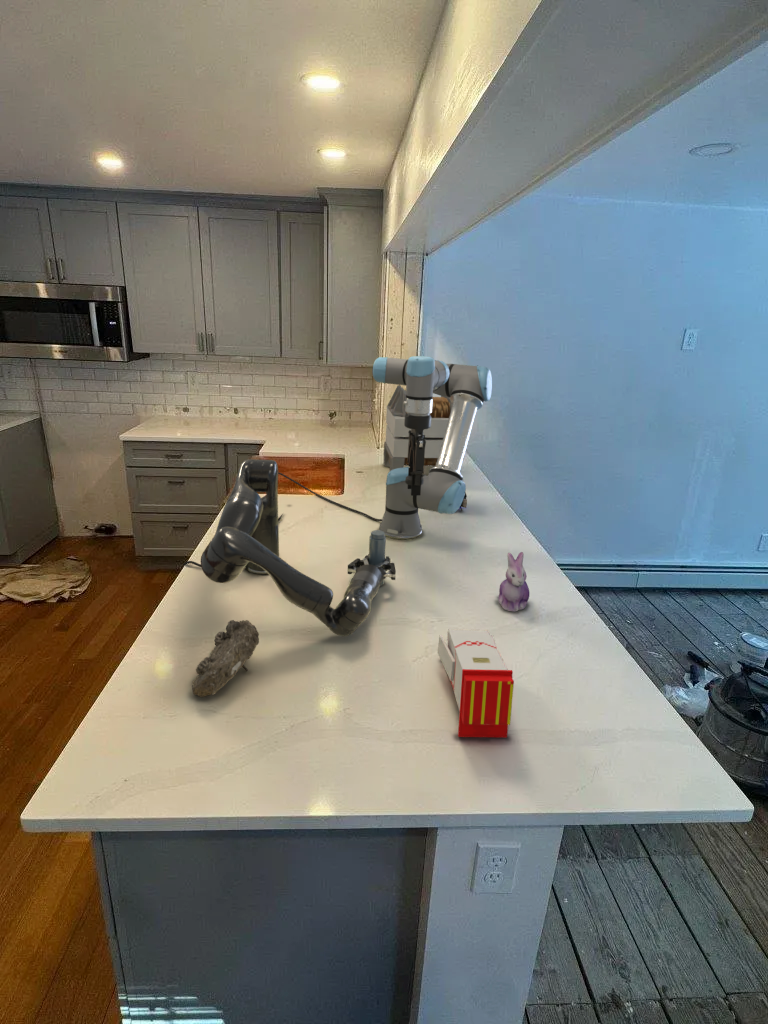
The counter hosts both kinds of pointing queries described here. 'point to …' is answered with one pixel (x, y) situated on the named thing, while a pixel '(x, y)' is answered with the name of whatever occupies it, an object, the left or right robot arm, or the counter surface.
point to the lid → (409, 480)
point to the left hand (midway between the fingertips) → (378, 558)
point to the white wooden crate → (399, 433)
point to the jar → (377, 548)
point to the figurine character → (464, 502)
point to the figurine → (514, 585)
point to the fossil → (226, 657)
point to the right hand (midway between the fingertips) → (413, 491)
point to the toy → (478, 682)
